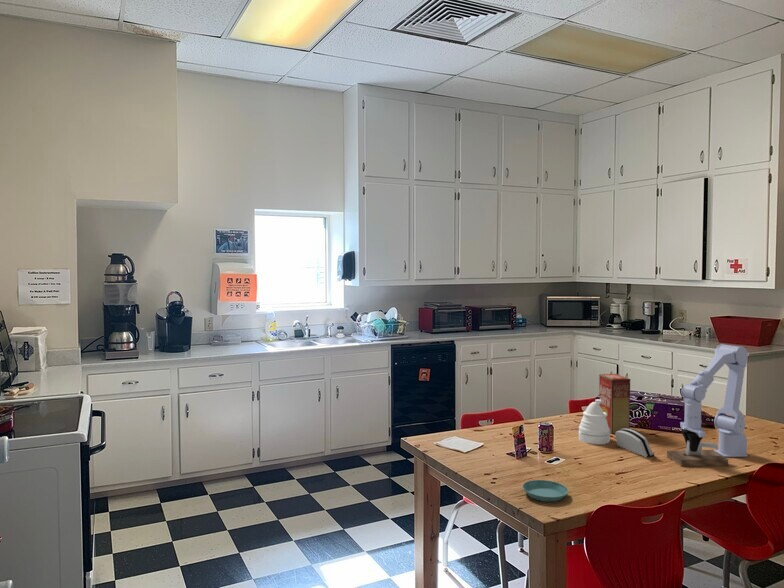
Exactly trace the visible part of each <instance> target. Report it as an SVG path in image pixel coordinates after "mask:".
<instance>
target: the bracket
mask: <svg viewBox="0 0 784 588" xmlns="http://www.w3.org/2000/svg"><path fill="white" fill-rule="evenodd" d="M685 445H686V444H685ZM718 447H719V444H717V443H715V442H706V441H700V443H699V446H698V449H697V452H691V450H690V442H689V440H687V445H686V447H685V450H686V452H685V456H701V451H702V450H703V449H702V448H709V449H718Z"/></svg>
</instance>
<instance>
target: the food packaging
mask: <svg viewBox="0 0 784 588" xmlns="http://www.w3.org/2000/svg"><path fill="white" fill-rule="evenodd" d="M598 378H599V382H598V384H599V386H598V387H599V388H598V390H599V392H598V397H599V399H600V400H602V401H601V403H600V404H599V405H600V407H601V408H602V410H603V412H605V413H606V414H607V416H606V417H605V418H606V420H607V424H608V427H609V429H610V434H612V435H615V432H616V431H619V430H620V429H624V428H626V429H631V413H630V412H631V378H628V377H626V376H622V375H619V374H618V373H602V374H601V373H600V374H599V377H598Z"/></svg>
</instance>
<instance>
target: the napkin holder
mask: <svg viewBox="0 0 784 588" xmlns="http://www.w3.org/2000/svg"><path fill="white" fill-rule="evenodd" d="M614 435H615V439H616V445H617V447H619V446H620V448H622V447H623V448H622V449H624V448H625V449H624V450H626V449H628V450H627V451H629V450H630V451H629V452H631V451H632V452H631V453H633V452H634V454H635V453H637V454H636V455H638V454H639V455H638V456H640V455H642V456H644V457H643V458H645V457H647V456H648V457H649V456H650V457H651V456H652V455H655V456H656V454H655V452H654V451H652V450H651V447H650V445H649V441H648V439H647V438H646V437H645V436H644V435H643V434H641V433H639V432H638V431H635V430H633V429H631V428H630V429H626V428H624V429H620V430H619V431H616V432H615V434H614ZM642 456H641V457H642ZM648 457H647V458H648Z"/></svg>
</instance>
